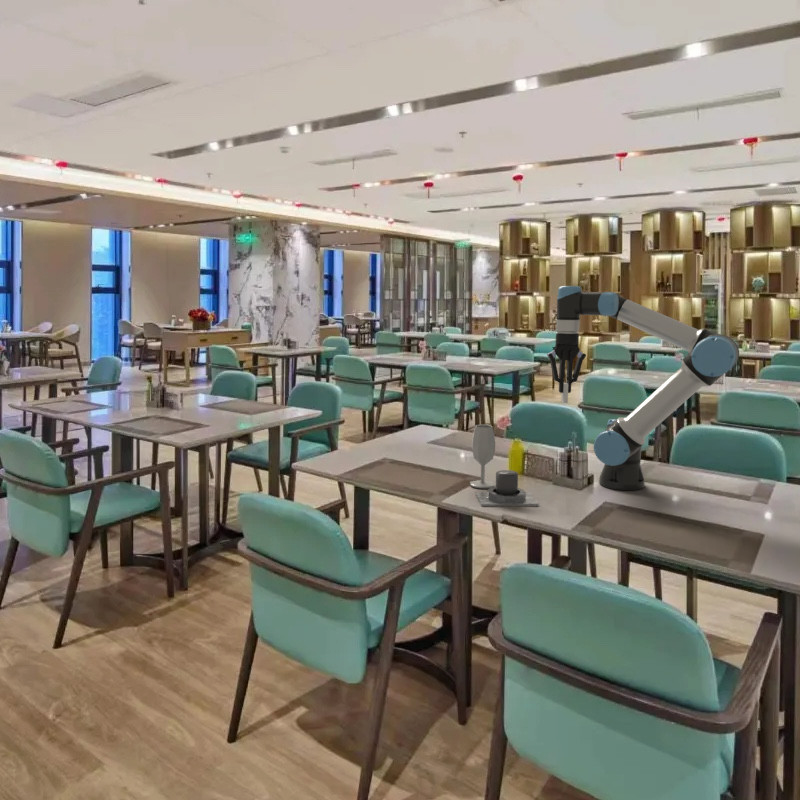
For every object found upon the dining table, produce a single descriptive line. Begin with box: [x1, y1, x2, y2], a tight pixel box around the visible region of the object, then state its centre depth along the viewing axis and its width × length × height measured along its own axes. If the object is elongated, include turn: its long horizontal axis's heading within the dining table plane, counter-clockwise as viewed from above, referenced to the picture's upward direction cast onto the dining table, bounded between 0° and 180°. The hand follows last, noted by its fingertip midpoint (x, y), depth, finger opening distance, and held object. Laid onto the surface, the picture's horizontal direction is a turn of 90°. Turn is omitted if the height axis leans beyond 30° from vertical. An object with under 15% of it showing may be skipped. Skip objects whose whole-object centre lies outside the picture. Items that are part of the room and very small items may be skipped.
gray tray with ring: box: [475, 486, 539, 507], centre depth 237 cm, size 18×13×3 cm
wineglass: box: [469, 424, 496, 490], centre depth 252 cm, size 9×9×21 cm
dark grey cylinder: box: [495, 469, 519, 495], centre depth 236 cm, size 7×7×8 cm
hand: (564, 402), depth 250 cm, fingers closed
